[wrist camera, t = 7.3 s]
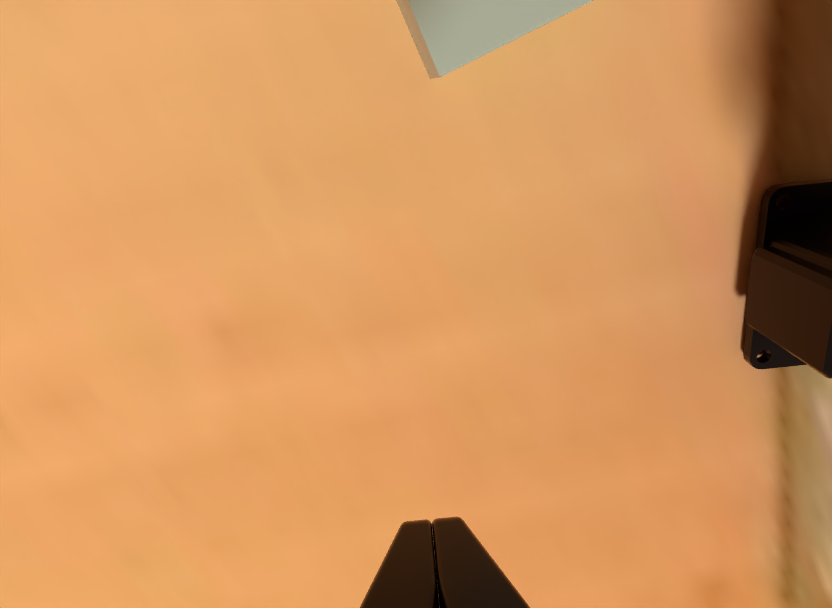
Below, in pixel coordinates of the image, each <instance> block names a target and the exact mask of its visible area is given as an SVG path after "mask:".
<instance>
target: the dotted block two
mask: <svg viewBox="0 0 832 608" xmlns="http://www.w3.org/2000/svg"><path fill="white" fill-rule="evenodd" d="M396 1H397V3H398V5H399V8H400V10H401V12H402V15H403V17H404V19H405V22H406V24H407V26H408V29H409V31H410V33H411V36H412V38H413V40H414V43H415V45H416V47H417V50H418V52H419V54H420V57H421V59H422V61H423V64H424V66H425V68H426V71H427V73H428V75H429V78H430V79H432V78H438V77H441V76H443V75H445V74H447V73H449V72H451V71H453V70H455V69H457V68H459V67H461V66H463V65H465V64H467V63H469V62H471V61H473V60H475V59H477V58H479V57H481V56H483V55H485V54H487V53H489V52H491V51H493V50H495V49H497V48H499V47H501V46H503V45H505V44H507V43H509V42H511V41H513V40H515V39H517V38H519V37H521V36H523V35H525V34H527V33H529V32H531V31H533V30H535V29H537V28H539V27H541V26H543V25H545V24H547V23H549V22H551V21H553V20H555V19H557V18H559V17H561V16H563V15H565V14H567V13H569V12H571V11H573V10H575V9H577V8H579V7H581V6H583V5H585V4H587V3H589V2H591V1H593V0H396Z"/></svg>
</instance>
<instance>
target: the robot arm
mask: <svg viewBox="0 0 832 608" xmlns="http://www.w3.org/2000/svg"><path fill="white" fill-rule="evenodd" d="M781 195H784V200H783V203H782V204H781V205H780V206H778V207H776V201H777V199H778V198H779V197H780V196H781ZM745 322H746V323H747V326H746V335H745V343H744V352H743V355H744V359H745V360H746V362H748V363H749V364H750V365H751V366H753V367H755V368H756V369H769V368H778V367H788V366H797V365H806V364H807V365H809V366H810V367H812V368H813V369H815V370H816V371H818V372H819V373H821V374H822V375H824V376H825V377H827V378H832V179H825V180H815V181H806V182H796V183H787V184H778V185H774V186H772V187H770V188H769V189H767V190H766V192H765V193H764V194H763V196H762V200H761V205H760V214H759V223H758V231H757V240H756V248H755V252H754V253H753V255H752V259H751V268H750V277H749V285H748V294H747V303H746V312H745ZM763 350H764V353H763V355H762V356H761V357H758V358H757V355H758V353H760V352H761V351H763ZM432 529H433V533H432ZM433 540H434V543H433ZM434 551H435V554H434ZM435 562H436V564H435ZM436 573H437V574H436ZM437 584H438V585H437ZM438 595H439V597H438ZM439 606H440V608H530V607H529V606H528V604H527V603H526V602H525V600H524V599H523V598H522V596H521V595H520V594H519V593H518V591H517V590H516V589H515V587H514V586H513V585H512V583H511V582H510V581H509V580H508V578H507V577H506V576H505V574H504V573H503V572H502V570H501V569H500V568H499V566H498V565H497V564H496V563H495V561H494V560H493V559H492V557H491V556H490V555H489V553H488V552H487V551H486V549H485V548H484V547H483V546H482V544H481V543H480V542H479V540H478V539H477V538H476V536H475V535H474V534H473V533H472V531H471V530H470V529H469V527H468V526H467V525H466V523H465V522H464V521H463V520H462V519H461V518H459V517H449V518H438V519H435V520H434V521H433V522H432V524H431V522H430V521H429V520H417V521H407V522H404V523H403V524H402V525H401V526H400V528H399V530H398V532H397V534H396V536H395V538H394V540H393V542H392V544H391V546H390V548H389V550H388V552H387V554H386V556H385V558H384V560H383V562H382V564H381V566H380V568H379V570H378V572H377V574H376V576H375V578H374V580H373V582H372V584H371V586H370V588H369V590H368V592H367V594H366V596H365V598H364V600H363V602H362V604H361V606H360V608H439Z"/></svg>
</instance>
